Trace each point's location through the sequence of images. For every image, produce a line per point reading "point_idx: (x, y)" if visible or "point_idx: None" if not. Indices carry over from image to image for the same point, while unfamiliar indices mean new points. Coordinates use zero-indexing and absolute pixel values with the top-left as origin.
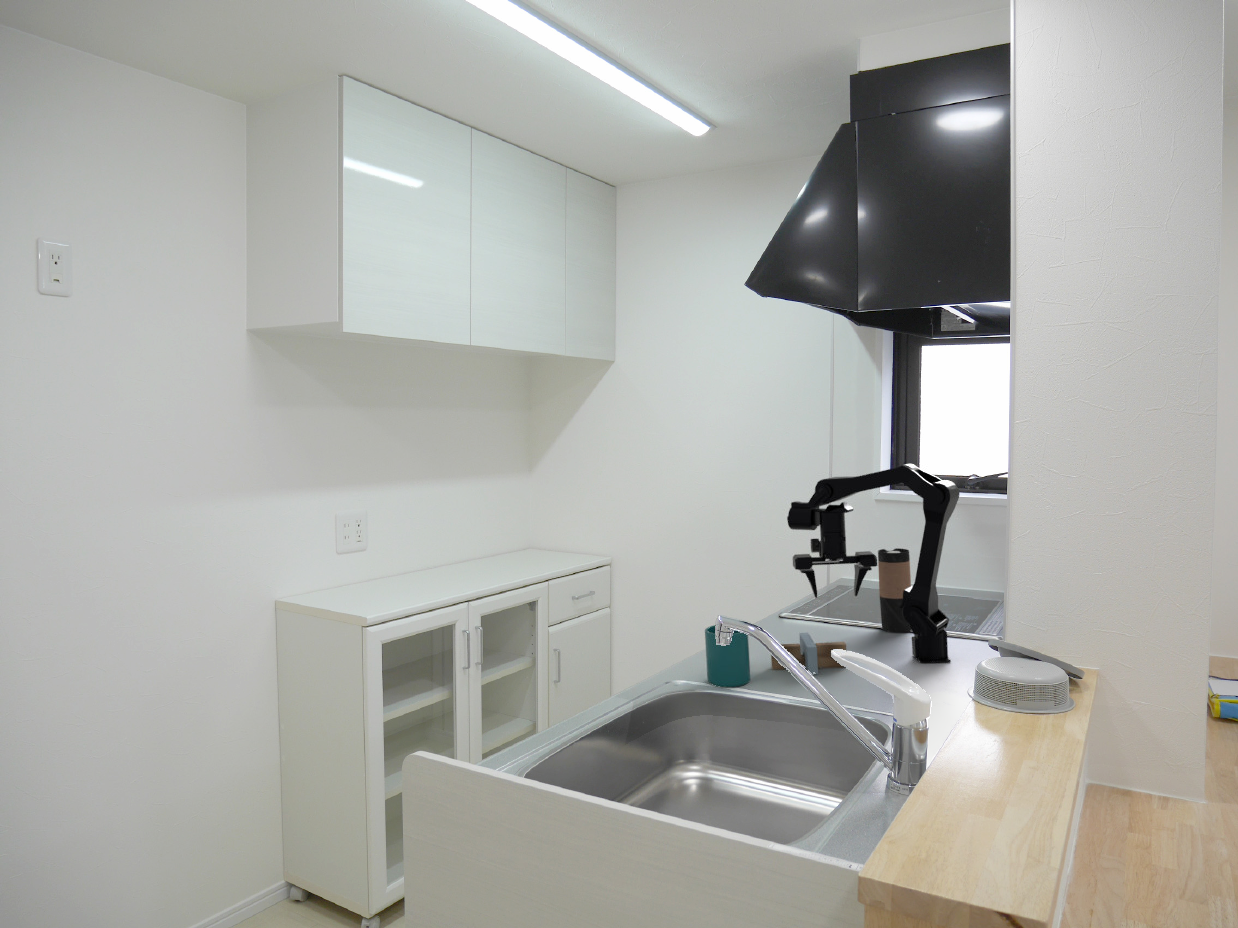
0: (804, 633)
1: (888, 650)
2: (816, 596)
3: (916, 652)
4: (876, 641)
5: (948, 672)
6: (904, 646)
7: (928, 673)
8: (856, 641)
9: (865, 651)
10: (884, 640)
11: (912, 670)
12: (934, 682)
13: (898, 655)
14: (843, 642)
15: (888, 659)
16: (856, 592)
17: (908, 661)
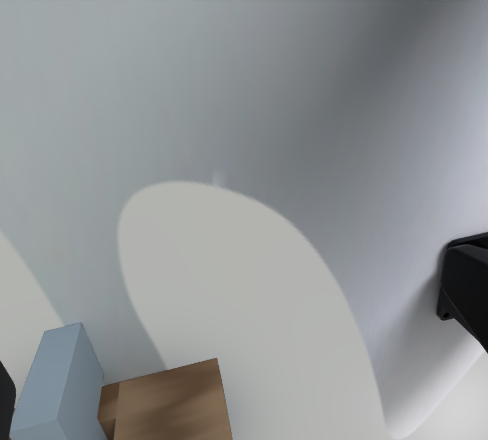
0: (38, 434)
1: (389, 188)
2: (6, 413)
3: (452, 315)
4: (381, 37)
5: (466, 365)
6: (465, 126)
7: (420, 380)
8: (287, 36)
9: (302, 209)
10: (422, 16)
11: (392, 368)
12: (408, 426)
13: (403, 246)
14: (226, 434)
15: (359, 291)
16: (478, 325)
17: (410, 301)
